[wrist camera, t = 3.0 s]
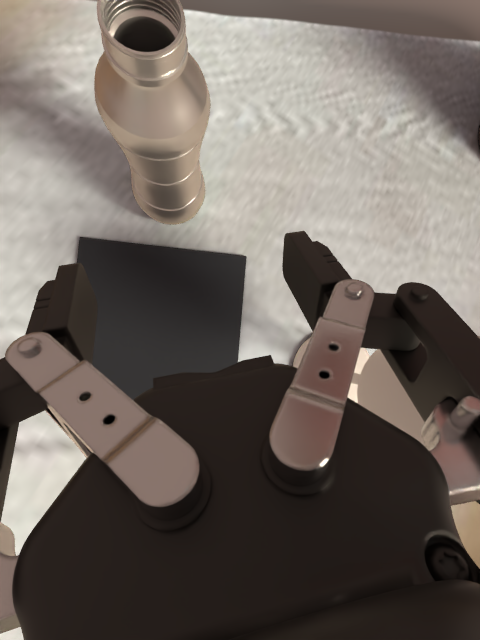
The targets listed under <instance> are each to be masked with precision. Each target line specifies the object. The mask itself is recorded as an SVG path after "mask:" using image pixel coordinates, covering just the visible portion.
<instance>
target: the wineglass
mask: <svg viewBox="0 0 480 640" xmlns="http://www.w3.org/2000/svg"><path fill="white" fill-rule="evenodd" d="M478 337H479V338H480V336H478ZM310 338H311V337H310ZM310 338H309V339H308V340H306V341H305V342H304V343H303V345H302V346H301V347H300V349H299V350H298V352H297V354H296V356H295V359H294V362H293V367H296V368H298V367H299V364H300V362H301V360H302V357H303V355H304V352H305V350H306V348H307V345H308V343H309V340H310ZM420 342H421V341H420ZM423 346H424V345H423ZM348 398H350V399H351V400H353V401H355V402H356V403H358V404H360V405H361V406H363V407H365V408H366V409H368V410H369V411H371V412H373V413H374V414H376V415H378V416H379V417H381V418H383V419H384V420H386V421H388V422H389V423H391V424H393V425H394V426H396V427H397V428H399V429H401V430H402V431H404V432H406V433H407V434H409V435H411V436H412V437H414V438H415V439H417V440H418V441H419V442H420V443H422V444H423V445H424V446H425V444H424V442H423V439H422V436H421V430H422V427H423V425H424V423H425V422H424V421H423V419H422V417H421V416H420V414H419V412H418V411H417V409H416V408H415V406H414V404H413V403H412V401H411V399H410V398H409V396H408V395H407V393H406V391H405V390H404V388H403V386H402V385H401V383H400V381H399V380H398V378H397V377H396V375H395V373H394V372H393V370H392V368H391V367H390V365H389V364H388V362H387V360H386V359H385V357H384V355H383V354H382V352H381V350H380V349H377V350H376V351H375V352H374V353H373V354H372V355H371V356H369V354H368V352H367V350H366V349H365V348H360V352H359V356H358V359H357V363H356V367H355V371H354V374H353V378H352V382H351V385H350V389H349V393H348Z"/></svg>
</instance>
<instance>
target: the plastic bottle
mask: <svg viewBox="0 0 480 640" xmlns="http://www.w3.org/2000/svg"><path fill="white" fill-rule="evenodd" d="M97 15H98V21H99V25H100V28H101V32H102V33H101V35H102V43H103V47H104V50H105V51H104V53H103V54H102V56H101V57H100V59H99V62H98V64H97V67H96V72H95V82H94V91H95V101H96V105H97V108H98V111H99V113H100V115H101V117H102V119H103V121H104V123H105V125H106V127H107V128H108V130H109V132H110V133H111V134H112V136H113V137H114V139H115V140H116V142H117V143H118V144H119V146H120V147H121V149H122V150H123V152H124V154H125V156H126V158H127V160H128V162H129V164H130V169H131V183H132V191H133V194H134V198H135V199H136V201H137V203H138V205H139V206H140V207H141V209H142V210H143V211H144V212H145V213H146V214H148V215H149V216H150V217H151V218H153V219H154V220H156V221H158V222H161V223H164V224H169V225H176V224H181V223H184V222H186V221H188V220H190V219H191V218H193V217H194V216H195V215H196V214H197V212H198V211H199V209H200V207H201V205H202V204H203V201H204V198H205V183H204V178H203V175H202V171H201V169H200V163H199V156H200V148H201V144H202V141H203V138H204V134H205V131H206V128H207V125H208V120H209V114H210V106H211V104H210V94H209V91H208V87H207V84H206V81H205V78H204V76H203V73H202V71H201V69H200V67H199V65H198V64H197V62H196V61H195V60H194V58H193V57H192V56H191V55H190V53H189V52H188V44H187V37H186V24H185V16H184V12H183V8H182V5H181V3H180V1H179V0H98V2H97Z"/></svg>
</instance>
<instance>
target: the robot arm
mask: <svg viewBox="0 0 480 640" xmlns="http://www.w3.org/2000/svg"><path fill="white" fill-rule="evenodd" d="M479 145H480V127H479ZM282 267H283V275H284V278H285V281H286V282H287V284H288V286H289V288H290V290H291V292H292V294H293V295H294V297H295V299H296V301H297V303H298V305H299V307H300V308H301V310H302V312H303V314H304V316H305V318H306V320H307V321H308V323H309V325H310V327H311V329H312V331H313V333H312V336H311V338H310V340H309V343H308V345H307V348H306V350H305V352H304V355H303V357H302V360H301V362H300V364H299V367H298V368H296V367H293V366H289V365H284V364H274V362H273V360H272V357H271V355H269V356H264V357H259V358H253V359H248V360H243V361H241V362H238V363H236V364H234V365H231V366H229V367H227V368H224V369H222V370H220V371H217V372H214V373H196V372H182V373H177V374H172V375H167V376H162V377H157V378H153V388H151V389H149V390H147V391H145V392H143V393H142V394H140V395H139V396H137V397H136V398H135V399H133V400H132V399H131V398H130V397H129V396H127V395H126V394H125V393H124V392H123V391H122V390H121V389H119V388H118V387H117V386H116V385H115V384H114V383H112V382H111V381H110V380H109V379H108V378H107V377H105V376H104V375H103V374H102V373H101V372H100V371H99V370H97V369H96V368H95V367H94V366H93V365H92V360H93V350H94V340H95V331H96V321H97V311H98V306H97V300H96V296H95V294H94V291H93V289H92V286H91V284H90V281H89V279H88V276H87V274H86V272H85V269H84V267H83V265H82V264H81V263H76V264H69V265H62V266H59V268H58V271H57V275H56V279H55V280H52V281H47V282H46V283H45V284H44V286H43V287H42V288H41V289H40V290H39V292H38V295H37V299H36V302H35V305H34V310H33V312H32V315H31V318H30V322H29V325H28V328H27V331H26V335H24V336H22V337H20V338H18V339H17V340H15V341H14V342H13V343H12V344H11V345H10V346H9V347H8V349H7V351H6V354H5V357H4V358H2V359H0V634H1V633H3V632H6V631H9V630H12V629H15V628H18V627H21V629H22V633H23V637H24V640H480V569H479V568H478V566H477V565H476V564H475V563H474V561H473V560H472V559H471V557H470V556H469V554H468V553H467V551H466V550H465V548H464V546H463V544H462V542H461V539H460V537H459V534H458V532H457V529H456V526H455V523H454V519H453V515H452V510H451V506H452V505H457V504H462V503H467V502H471V501H476V502H478V503H479V504H480V338H479V337H478V336H477V335H476V334H475V333H474V332H473V331H472V330H471V328H470V327H469V326H468V325H467V324H466V323H465V322H464V321H463V320H462V319H461V318H460V316H459V315H458V314H457V313H456V312H455V311H454V310H453V309H452V308H451V307H450V306H449V304H448V303H447V302H446V301H445V300H444V299H443V298H442V297H441V296H440V295H439V294H438V293H437V292H436V291H435V290H434V289H433V288H431V287H429V286H427V285H424V284H421V283H414V282H411V283H405V284H402V285H401V286H400V287H399V288H398V290H397V293H396V294H387V293H375V292H374V290H373V289H372V287H371V286H370V285H368V284H367V283H365V282H362V281H359V280H354V279H352V278H351V277H350V276H349V274H348V273H347V272H346V271H345V269H344V268H343V267H342V265H341V264H340V263H339V262H337V259H336V258H335V256H333V254H332V253H331V251H330V250H329V249H328V247H327V246H325V245H323V244H321V243H320V242H318V241H315V242H312V241H311V239H310V238H309V237H308V235H307V234H306V232H305V231H300V232H293V233H287V234H285V237H284V250H283V266H282ZM420 341H421V342H420ZM423 345H424V346H423ZM360 348H371V349H380V350H381V352H382V354H383V355H384V357H385V359H386V360H387V362H388V364H389V365H390V367H391V368H392V370H393V372H394V373H395V375H396V377H397V378H398V380H399V381H400V383H401V385H402V386H403V388H404V390H405V391H406V393H407V395H408V396H409V398H410V399H411V401H412V403H413V404H414V406H415V408H416V409H417V411H418V412H419V414H420V416H421V417H422V419H423V421H424V422H425V423H424V425H423V427H422V430H421V436H422V439H423V442H424V444H425V446H424V445H423V444H422V443H420V442H419V441H418V440H417V439H415V438H414V437H412V436H411V435H409V434H407V433H406V432H404V431H402V430H401V429H399V428H397V427H396V426H394V425H393V424H391V423H389V422H388V421H386V420H384V419H383V418H381V417H379V416H378V415H376V414H374V413H373V412H371V411H369V410H368V409H366V408H365V407H363V406H361V405H360V404H358V403H356V402H355V401H353V400H351V399H350V398H348V393H349V389H350V385H351V382H352V378H353V374H354V371H355V367H356V363H357V359H358V356H359V352H360ZM44 410H45V411H46V412H47V413H48V414H49V416H50V417H51V418H52V419H53V420H54V421H55V422H56V423H57V424H58V426H59V427H60V428H61V429H62V430H63V431H64V432H65V433H66V434H67V435H68V437H69V438H70V439H71V440H72V441H73V442H74V443H75V444H76V446H77V447H78V448H79V449H80V451H81V452H82V453H83V454H84V455H85V457H86V460H85V461H84V462H83V464H82V465H81V466H80V468H79V469H78V470H77V472H76V473H75V474H74V476H73V477H72V478H71V480H70V481H69V482H68V484H67V485H66V486H65V488H64V489H63V490H62V492H61V493H60V494H59V496H58V497H57V498H56V500H55V501H54V502H53V503H52V505H51V506H50V507H49V509H48V510H47V511H46V513H45V514H44V515H43V517H42V518H41V519H40V521H39V522H38V523H37V525H36V526H35V527H34V529H33V530H32V532H31V533H30V535H29V536H28V538H27V540H26V541H25V543H24V545H23V547H22V549H21V552H20V554H19V555H18V556H16V554H15V538H14V534H13V532H12V530H11V529H10V528H9V527H7V526H6V525H4V524H3V523H1V517H2V511H3V506H4V501H5V495H6V490H7V485H8V479H9V474H10V469H11V463H12V458H13V453H14V447H15V442H16V437H17V431H18V426H19V422H21V421H23V420H25V419H27V418H29V417H31V416H34V415H36V414H38V413H40V412H42V411H44Z"/></svg>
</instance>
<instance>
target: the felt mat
mask: <svg viewBox="0 0 480 640" xmlns="http://www.w3.org/2000/svg"><path fill="white" fill-rule="evenodd" d="M77 263H81V264H82V265H83V267H84V269H85V272H86V274H87V276H88V279H89V281H90V284H91V286H92V289H93V291H94V294H95V296H96V300H97V306H98V311H97V321H96V331H95V340H94V350H93V360H92V365H93V366H94V367H95V368H96V369H97V370H99V371H100V372H101V373H102V374H103V375H104V376H105V377H107V378H108V379H109V380H110V381H111V382H112V383H114V384H115V385H116V386H117V387H118V388H119V389H121V390H122V391H123V392H124V393H125V394H126V395H127V396H129V397H130V398H131V399H132V400H133V399H135V398H136V397H137V396H139V395H140V394H142V393H143V392H145V391H147V390H149V389H151V388H153V378H157V377H162V376H167V375H172V374H177V373H182V372H196V373H214V372H217V371H220V370H222V369H224V368H227V367H229V366H231V365H234V364H236V363H238V351H239V339H240V327H241V315H242V303H243V291H244V278H245V266H246V256H240V255H231V254H222V253H214V252H205V251H196V250H188V249H179V248H170V247H162V246H153V245H144V244H135V243H127V242H118V241H109V240H101V239H92V238H83V237H80V240H79V249H78V258H77Z"/></svg>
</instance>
